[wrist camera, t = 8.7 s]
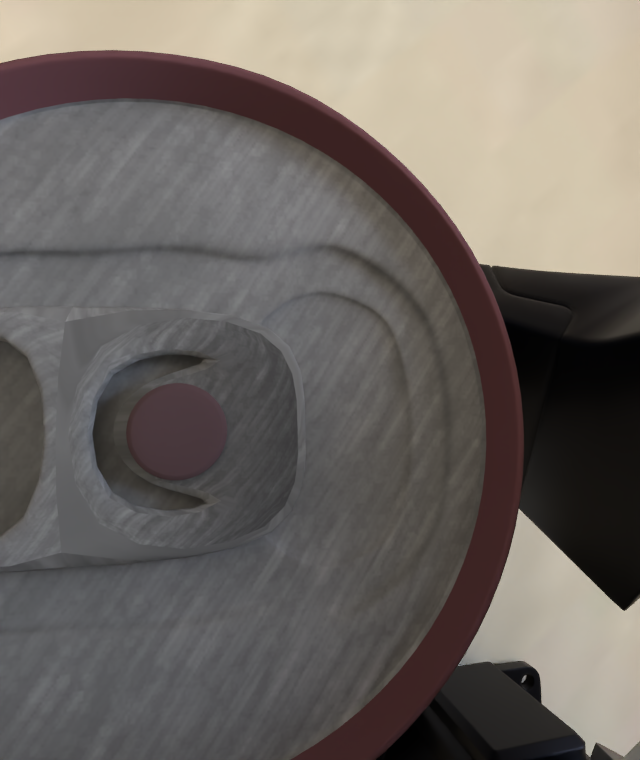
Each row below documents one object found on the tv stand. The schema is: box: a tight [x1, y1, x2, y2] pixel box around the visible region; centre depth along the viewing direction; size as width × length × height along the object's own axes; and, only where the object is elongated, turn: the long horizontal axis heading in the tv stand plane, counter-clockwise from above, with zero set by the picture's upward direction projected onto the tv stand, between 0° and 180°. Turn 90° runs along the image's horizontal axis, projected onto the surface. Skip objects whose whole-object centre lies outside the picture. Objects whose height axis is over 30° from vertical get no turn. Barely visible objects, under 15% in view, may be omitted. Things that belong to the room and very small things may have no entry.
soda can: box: [0, 50, 524, 760], centre depth 9 cm, size 7×7×12 cm
